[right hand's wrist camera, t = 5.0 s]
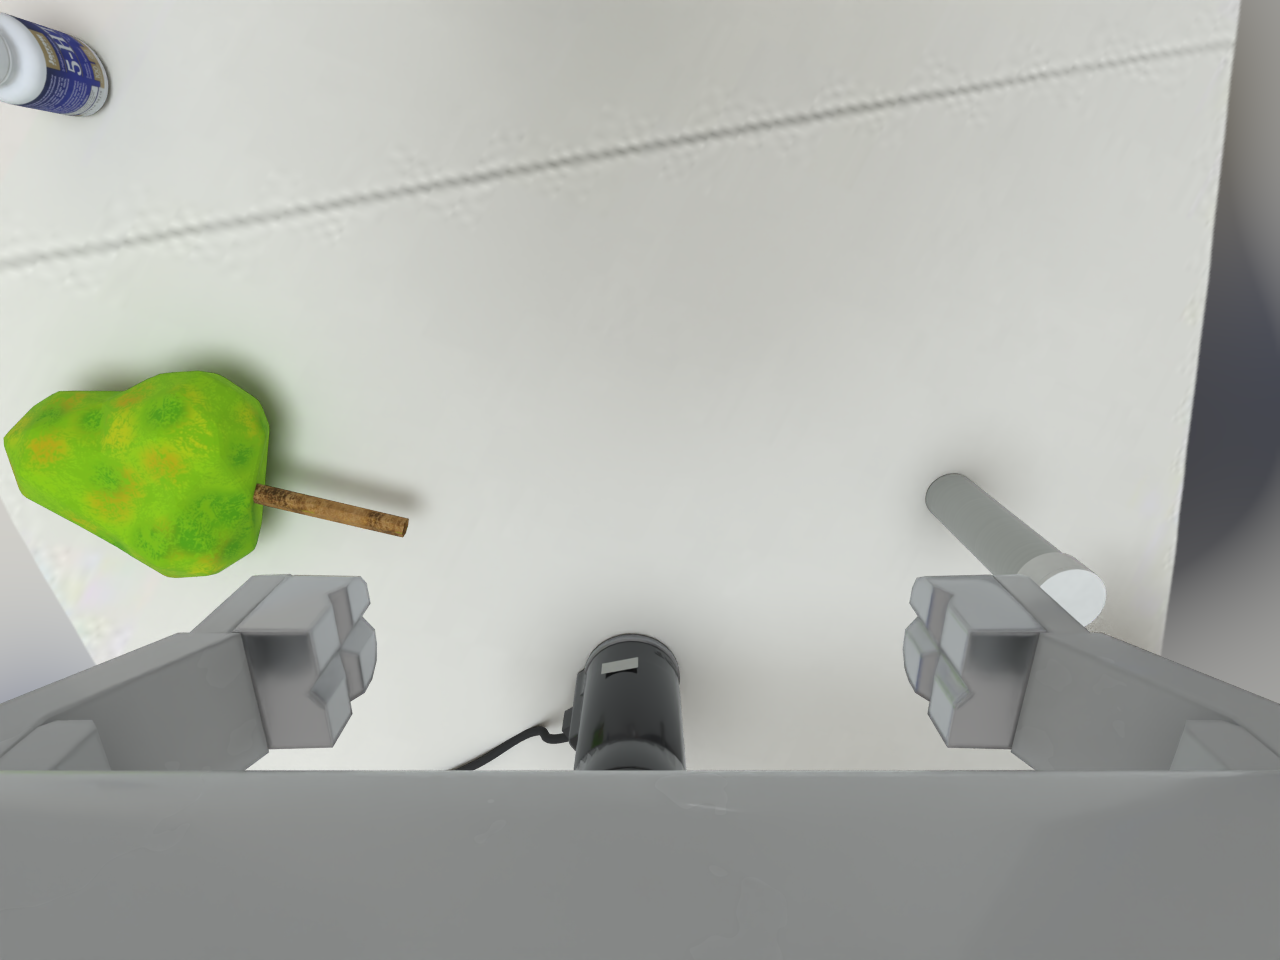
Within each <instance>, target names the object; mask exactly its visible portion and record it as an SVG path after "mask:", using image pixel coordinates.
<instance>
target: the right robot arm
mask: <svg viewBox="0 0 1280 960" xmlns="http://www.w3.org/2000/svg"><path fill="white" fill-rule="evenodd" d="M369 605H370V598H369V593H368V588H367V583H366V582H365V581H364V580H363V579H362V577H361V576H326V575H291V574H277V575H256V576H252V577H251V578H250V579H248V580H247V581H246V582H245V583H244V584H243V585H242V586H241V587H240V588H239V589H237V590H236V591H235V592H234V593H233V594H232V595H231V596H230V597H229V598H227V599H226V600H225V601H224V602H223V603H222V604H221V605H220V606H219V607H217V608H216V609H215V610H214V611H213V612H212V613H211V614H210V615H209V616H208V617H206V618H205V619H204V620H203V621H202V622H201V623H200V624H199V625H198V626H196V627H195V628H194V629H193V630H192V631H191V632H190V633H176V634H174V635H171V636H169V637H166V638H164V639H161V640H159V641H156V642H154V643H151V644H149V645H146V646H144V647H141V648H139V649H136V650H134V651H131V652H129V653H126V654H124V655H121V656H119V657H116V658H114V659H111V660H109V661H106V662H104V663H101V664H99V665H96V666H94V667H91V668H89V669H86V670H84V671H81V672H79V673H76V674H74V675H71V676H69V677H66V678H64V679H61V680H59V681H56V682H54V683H51V684H49V685H46V686H44V687H41V688H39V689H36V690H34V691H31V692H29V693H26V694H24V695H21V696H19V697H16V698H14V699H11V700H8V701H6V702H4V703H1V704H0V960H1280V704H1278V703H1276V702H1274V701H1271V700H1269V699H1266V698H1264V697H1261V696H1259V695H1256V694H1254V693H1251V692H1249V691H1246V690H1244V689H1241V688H1238V687H1236V686H1234V685H1231V684H1229V683H1226V682H1224V681H1221V680H1219V679H1216V678H1214V677H1211V676H1209V675H1206V674H1204V673H1201V672H1199V671H1196V670H1194V669H1191V668H1189V667H1186V666H1184V665H1181V664H1179V663H1176V662H1174V661H1171V660H1169V659H1166V658H1164V657H1161V656H1159V655H1156V654H1154V653H1151V652H1149V651H1146V650H1144V649H1141V648H1139V647H1136V646H1134V645H1131V644H1129V643H1126V642H1124V641H1121V640H1119V639H1116V638H1114V637H1111V636H1109V635H1106V634H1104V633H1090V632H1089V631H1088V630H1087V629H1086V628H1085V627H1084V626H1083V625H1081V624H1080V623H1079V622H1078V621H1077V620H1076V619H1075V618H1074V617H1073V616H1071V615H1070V614H1069V613H1068V612H1067V611H1066V610H1065V609H1064V608H1063V607H1062V606H1060V605H1059V604H1058V603H1057V602H1056V601H1055V600H1054V599H1053V598H1052V597H1051V596H1049V595H1048V594H1047V593H1046V592H1045V591H1044V590H1043V589H1042V588H1041V587H1039V586H1038V585H1037V584H1036V583H1035V582H1034V581H1033V580H1032V579H1031V578H1030V577H1028V576H1025V575H1021V574H1008V575H958V576H924V577H918V578H916V581H915V583H914V585H913V587H912V592H911V597H910V605H911V606H912V608H913V609H914V611H915V613H916V614H917V616H918V617H917V618H916V619H915V620H914V621H913V622H912V623H911V624H910V625H909V626H908V627H907V628H906V629H905V636H904V644H903V657H904V667H905V671H906V674H907V677H908V680H909V682H910V684H911V686H912V688H913V689H914V691H915V693H917V694H918V695H920V696H921V697H923V698H925V699H926V700H928V701H930V703H929V709H928V715H929V717H930V719H931V720H932V722H933V724H934V725H935V727H936V729H937V731H938V732H939V734H940V736H941V737H942V739H943V741H944V742H945V744H946V746H947V747H948V748H985V749H1011V752H1012V753H1013V754H1014V755H1016V756H1017V757H1018V758H1020V759H1021V760H1022V761H1024V762H1025V763H1026V764H1028V765H1029V766H1031V767H1032V768H1033V769H1035V770H246V769H247V768H248V767H250V766H251V765H252V764H254V763H255V762H256V761H258V760H259V759H260V758H262V757H263V756H265V755H266V754H267V753H269V750H268V749H294V748H330V747H333V746H334V744H335V742H336V741H337V739H338V737H339V736H340V734H341V732H342V731H343V729H344V727H345V726H346V724H347V722H348V720H349V719H350V717H351V715H352V709H351V703H350V702H351V701H352V700H354V699H355V698H357V697H359V696H360V695H362V694H363V693H365V691H366V689H367V688H368V686H369V684H370V682H371V680H372V678H373V673H374V669H375V665H376V661H377V641H376V635H375V629H374V628H373V627H372V626H371V625H370V624H369V623H368V622H367V621H366V620H365V619H364V618H363V617H362V616H363V614H364V613H365V611H366V609H367V608H368V606H369Z"/></svg>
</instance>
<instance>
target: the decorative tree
mask: <svg viewBox="0 0 1280 960" xmlns="http://www.w3.org/2000/svg"><path fill="white" fill-rule="evenodd" d="M268 442H269V423H268V421H267V418H266V416H265V413H264V411H263V408H262V406H261V404H260V402H259V401H258V400H257V399H256V398H254V397H253V396H252V395H250V394H249V393H247V392H246V391H244V390H243V389H241V388H240V387H238V386H237V385H235V384H234V383H232V382H231V381H229V380H228V379H226V378H225V377H223V376H221V375H219V374H215V373H209V372H203V371H186V372H172V373H164V374H159V375H156V376H154V377H152V378H149V379H147V380H145V381H143V382H141V383H139V384H137V385H135V386H133V387H131V388H129V389H128V390H126V391H59V392H57V393H54V394H52V395H51V396H49V397H47V398H46V399H44V400H43V401H41V402H39V403H38V404H36V405H35V406H33V407H32V408H31V409H30V410H29V411H28V412H27V413H26V414H25V415H24V416H23V417H22V418H21V420H20V421H19V422H18V423H17V424H16V425H15V426H14V427H13V428H12V429H11V430H10V431H9V432H8V433H7V434H6V436H5V437H4V447H5V450H6V453H7V456H8V458H9V461H10V464H11V467H12V470H13V473H14V476H15V479H16V481H17V484H18V487H19V490H20V491H21V493H22V494H23V495H24V496H25V497H26V498H28V499H30V500H32V501H34V502H35V503H37V504H39V505H41V506H43V507H45V508H47V509H49V510H50V511H52V512H54V513H56V514H58V515H60V516H62V517H64V518H65V519H67V520H69V521H71V522H73V523H75V524H77V525H79V526H80V527H82V528H84V529H86V530H88V531H89V532H91V533H93V534H95V535H97V536H98V537H100V538H102V539H104V540H105V541H107V542H109V543H111V544H113V545H114V546H116V547H118V548H119V549H121V550H123V551H124V552H126V553H128V554H129V555H130V556H132V557H134V558H135V559H137V560H139V561H140V562H142V563H144V564H146V565H147V566H149V567H151V568H152V569H154V570H156V571H157V572H159V573H161V574H162V575H164V576H167V577H172V578H182V577H197V576H208V575H213V574H217V573H219V572H221V571H222V570H224V569H225V568H227V567H229V566H230V565H232V564H233V563H235V562H237V561H238V560H240V559H241V558H243V557H244V556H246V555H248V554H249V553H250V552H252V551H253V550H254V549H255V547H256V544H257V541H258V536H259V532H260V528H261V523H262V512H263V505H265V506H269V507H273V508H278V509H282V510H286V511H291V512H295V513H299V514H304V515H308V516H312V517H317V518H321V519H325V520H330V521H334V522H338V523H343V524H347V525H351V526H356V527H360V528H364V529H369V530H373V531H377V532H382V533H386V534H390V535H395V536H399V537H404V535H405V534H406V530H407V527H408V521H409V519H408V518H403V517H399V516H395V515H391V514H386V513H382V512H378V511H373V510H369V509H365V508H361V507H356V506H352V505H348V504H344V503H339V502H335V501H331V500H326V499H322V498H318V497H314V496H309V495H305V494H301V493H297V492H292V491H288V490H284V489H279V488H275V487H271V486H267V485H265V477H266V465H267V454H268Z"/></svg>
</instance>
